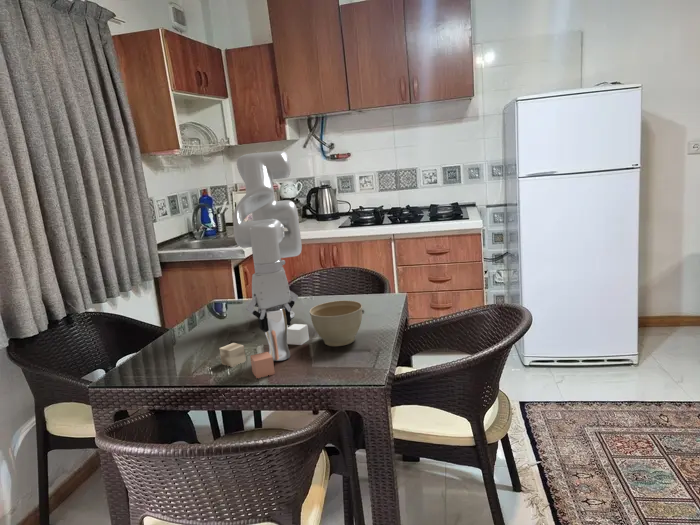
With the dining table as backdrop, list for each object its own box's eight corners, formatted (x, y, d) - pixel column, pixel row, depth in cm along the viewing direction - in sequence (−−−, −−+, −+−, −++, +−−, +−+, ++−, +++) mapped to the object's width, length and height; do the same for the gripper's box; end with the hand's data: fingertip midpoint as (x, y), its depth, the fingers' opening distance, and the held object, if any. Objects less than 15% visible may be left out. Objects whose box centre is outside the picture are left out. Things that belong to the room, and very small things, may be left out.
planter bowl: (315, 334, 171) (312, 302, 169) (365, 330, 170) (362, 298, 168) (310, 353, 155) (306, 317, 153) (365, 348, 154) (361, 313, 152)
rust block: (252, 372, 145) (250, 355, 144) (270, 368, 147) (267, 351, 146) (256, 378, 141) (254, 361, 140) (274, 374, 142) (272, 357, 141)
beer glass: (281, 363, 149) (274, 312, 146) (262, 360, 152) (256, 310, 149) (296, 354, 154) (290, 305, 151) (278, 351, 158) (272, 303, 155)
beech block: (221, 364, 153) (219, 348, 152) (235, 358, 157) (233, 342, 156) (232, 367, 150) (229, 351, 149) (246, 361, 154) (243, 345, 153)
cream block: (287, 344, 165) (285, 329, 164) (295, 338, 170) (294, 323, 169) (301, 345, 163) (299, 329, 162) (309, 339, 167) (307, 324, 166)
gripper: (289, 259, 155) (296, 317, 159) (234, 271, 146) (242, 332, 150) (301, 263, 149) (308, 322, 153) (244, 275, 140) (253, 339, 144)
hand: (275, 327), depth 151 cm, fingers closed on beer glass, 6 cm apart
